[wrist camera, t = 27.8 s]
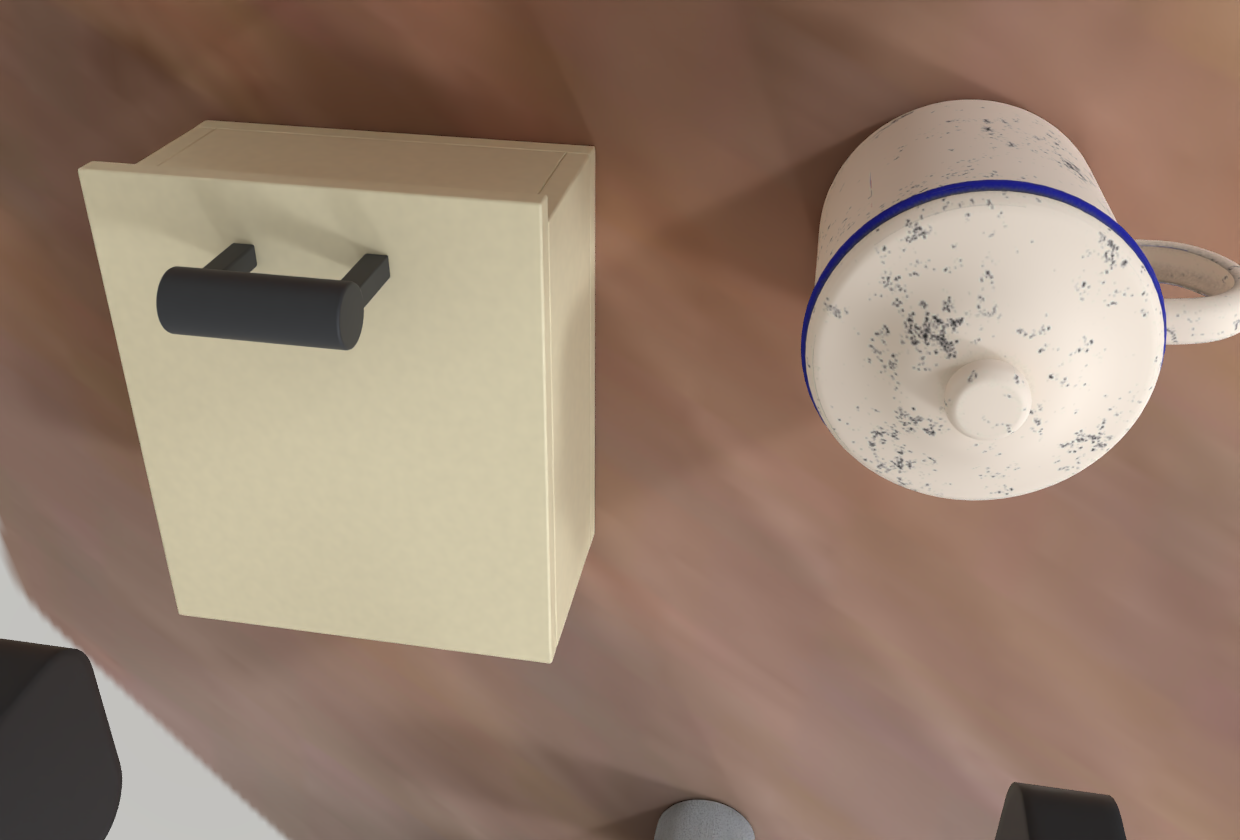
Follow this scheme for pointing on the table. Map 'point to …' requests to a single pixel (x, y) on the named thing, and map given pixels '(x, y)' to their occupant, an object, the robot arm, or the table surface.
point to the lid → (340, 399)
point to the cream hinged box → (482, 168)
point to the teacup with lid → (990, 305)
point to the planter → (702, 822)
